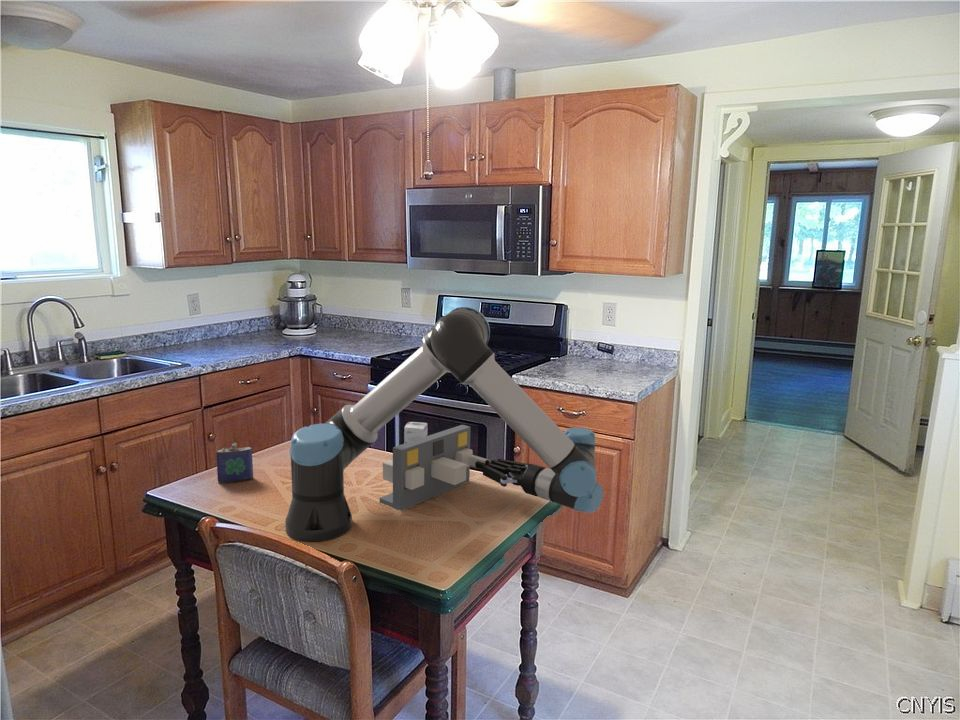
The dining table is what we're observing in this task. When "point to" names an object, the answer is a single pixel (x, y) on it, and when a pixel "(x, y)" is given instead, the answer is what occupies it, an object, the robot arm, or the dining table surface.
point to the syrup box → (414, 431)
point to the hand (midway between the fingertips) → (469, 459)
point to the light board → (425, 466)
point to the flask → (234, 464)
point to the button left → (405, 475)
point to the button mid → (448, 470)
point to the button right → (463, 455)
